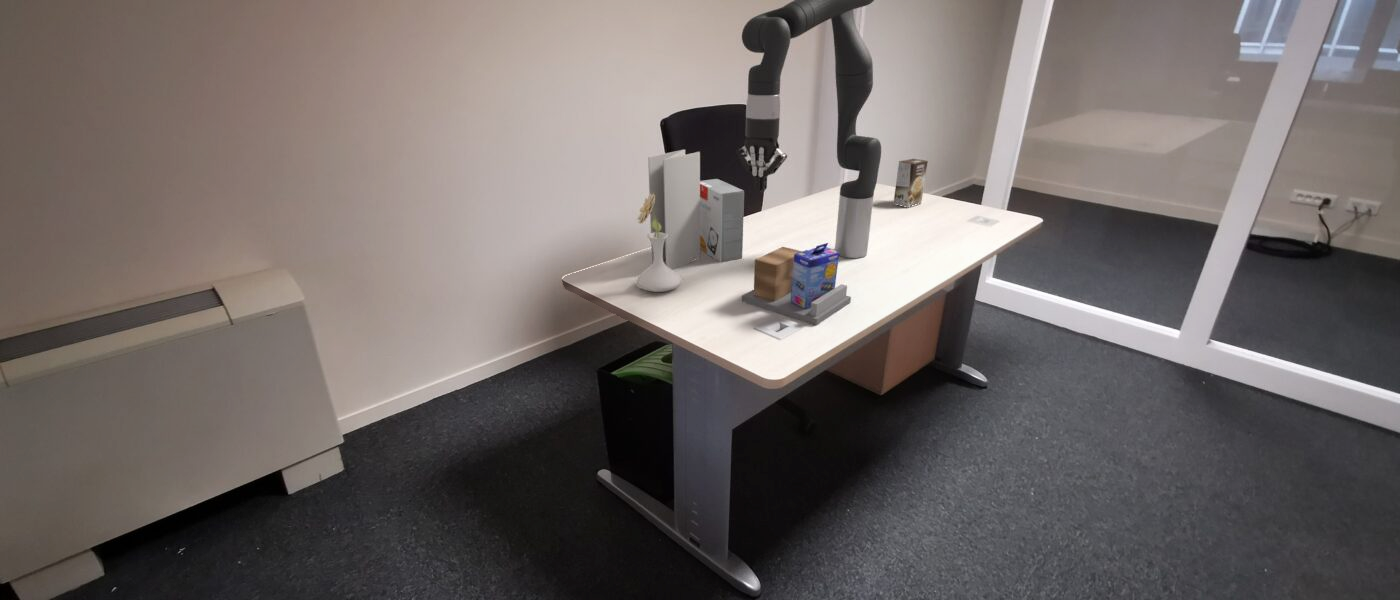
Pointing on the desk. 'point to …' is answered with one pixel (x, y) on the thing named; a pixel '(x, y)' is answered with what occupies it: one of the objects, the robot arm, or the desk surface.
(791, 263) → the cardboard box
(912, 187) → the coffee box
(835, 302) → the shelf board
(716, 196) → the hard drive box
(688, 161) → the brochure
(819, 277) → the ink cartridge box
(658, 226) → the flower in vase
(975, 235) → the desk surface
